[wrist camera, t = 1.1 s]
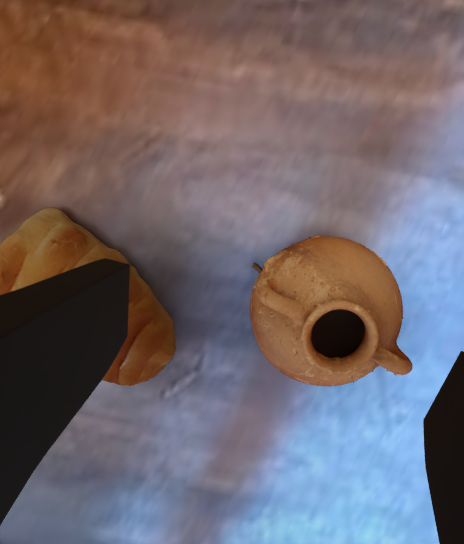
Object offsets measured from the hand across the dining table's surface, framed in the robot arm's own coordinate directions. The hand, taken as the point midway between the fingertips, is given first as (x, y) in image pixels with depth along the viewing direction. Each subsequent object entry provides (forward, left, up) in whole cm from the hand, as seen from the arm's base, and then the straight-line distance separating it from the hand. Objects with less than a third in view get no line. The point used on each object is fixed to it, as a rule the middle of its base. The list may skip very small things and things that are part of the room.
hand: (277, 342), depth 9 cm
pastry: (-3, +8, -12) cm, 15 cm away
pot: (-1, -3, -12) cm, 13 cm away
